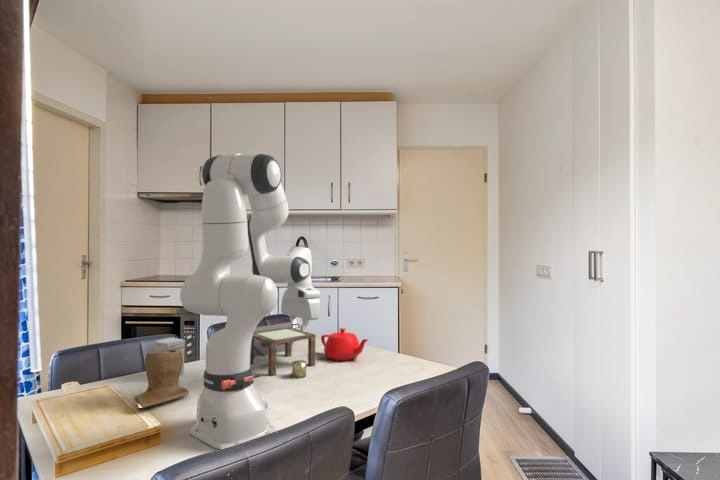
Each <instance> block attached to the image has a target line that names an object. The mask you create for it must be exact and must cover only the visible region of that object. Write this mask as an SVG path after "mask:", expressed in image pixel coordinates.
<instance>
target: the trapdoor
mask: <svg viewBox="0 0 720 480" xmlns="http://www.w3.org/2000/svg"><path fill="white" fill-rule="evenodd" d="M257 335H260V336H262V337H265V338H268V339H271V340H280V339H285V338H291V337H297V336H303V335H306V334H303V333H299V332H296V331H293V330H289V329H283V330H277V331H270V332H264V333H257Z"/></svg>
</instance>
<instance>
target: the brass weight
mask: <svg viewBox="0 0 720 480" xmlns="http://www.w3.org/2000/svg"><path fill="white" fill-rule="evenodd" d="M291 365H292V366H291V367H292V369H291V370H292V374H291V377H292V378H293V379H304V378H306V377H307V361H306V360H302V359H301V360H300V359H299V360H297V359H296V360H294V361H292V364H291Z"/></svg>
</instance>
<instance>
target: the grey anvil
mask: <svg viewBox="0 0 720 480" xmlns="http://www.w3.org/2000/svg"><path fill="white" fill-rule="evenodd" d="M297 324H298V327H297V328H296V329H301V328H300V326H301V325H300V324H299V323H297ZM287 327H291V321H289V322H282V323H275V324H269V325H262V326H257V327H256V329H255V331H254V332H260V331H267V330H273V329H280V328H287ZM261 343H263V342H262V341H259V340H257V339H254V353H257V354H259V355H262V356H269V344H267V343H263V344H261ZM294 343H295V341H292V345H293V344H294ZM282 352H283V353H285V343H281V344H276V354H279V353H282Z"/></svg>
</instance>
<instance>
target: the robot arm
mask: <svg viewBox="0 0 720 480" xmlns="http://www.w3.org/2000/svg"><path fill="white" fill-rule="evenodd" d="M201 176H202V181H203V185H204V187H203V193H202V199H201V226H202V253H201V258H200V261H199V263H198V266H197V268H196V270H195V271H194V272H193V273H192V274H191V275H190V276H189V277H188V278H187V279H185V280H184V282H183V283H182V286H181V288H180V294H179V298H180V302H181V305H182V307H183V309H185V310H186V311H188V313H189V312H190V313H192V314H193V313H194V314H197V315H203V316H218V317H219V316H221V317H222V316H224V317H226V323H225V326H224V328H221V329H219V330H217V331H215V332H214V333H212V335H210V337H209V338H208V339H207V342H206V345H205V369H204V372H203V377H202V379H203V386H204V388H203V389H202V391H201V393H200V394H199V396H198V398H197V403H196V416H195V418H196V419H195V425H193V426H192V427H191V428H189V429H190V430H189V434H190V435H191V436H192V437H195V438H196V439H197V440H199V441H201V442H203V443H205V444H208V445H209V446H210V447H212V448H215V449H216V448H217V449H216V450H218V449H222V448H226V447H230V446H233V445H236V444H239V443H242V442H246V441H249V440H251V439H254V438H257V437H260V436H263V435H266V434H268V433H272V432H274V431H276V432H277V428H276V427H275V426H274V424H272V422H271V421H270V419H269V418H268V417H267V409H268V406H269V405H268V401H267V399H262V397H261V395H260V391H258V390H257V389H256V386H255V384H254V378H255V377H254V376H253V374H254V372H253V369H252V366H251V365H250V353H251V342H252V336H253V333H254V331H255V329H256V327H258V325H259V323H260V322H261V321H262V320H263V319H264V318H265V317H266V316H268V315H269V314H270V313H271V312H272V311H273V310H274V308H275V307H276V305H277V302H278V297H279V293H278V288H277V285H276V284H280V285H281V284H282V285H283V284H284V285H285V284H286V285H287V287H286V288H287V289H286V290H285V291H284V292H283V295H282V297H281V298H282V299H281V305H280V311H281V314H282V315H285V316H289V322H291V328H293V329H298V328H297V327H298V324H299V323H297V318H298V319H301V322H302V324H301V325H300V328H299V330H301V331H305V332H307V331H308V330H307V329H308V328H307V327H308V325H309V322H310V321H316V320H318V319H319V318H320V314H321V313H320V311H321V310H320V309H321V303H320V299H319V298H320V297H321V292H320V290H318V289H317V288H315V287H314V286H313V282H312V281H313V280H312V273H313V258H312V251H311V249H310V248H309V247H306V246H300V245H298V246H297V245H295V246H291V247H290V248H289V251H288V252H289V253H287V254H286V255H272V254H270V253H268V251H267V243H266V237H265V234H267V233H269V232H272V231H275V230H276V229H278V228H280V227H281V226H282V225H283V224H285V222H286V220H287V218H288V217H289V213H290V212H289V211H290V210H289V209H290V208H289V204H288V200H287V196H286V192H285V189H284V188H283V184H282V170H281V166H280V164H279V162H278V161H277V160H276V159H275V158H274V156H271V155H269V154H264V153H263V154H262V153H257V154H250V153H248V154H247V153H233V154H232V153H231V154H230V153H229V154H225V155H222V154H220V155H214V156H212V157H210V158H208V159H206V161H205V162H204V164H203V167H202V169H201ZM245 196H247V199H248V202H249V206H250V209H251V216H250V217H249V219H248V214H247V206H246V201H245ZM248 249H250V255H251V256H250V257H251V263H252V265H251V270H252V271H251V272H252V274H250V273H249V274H248V273H247V274H246V273H244V274H241V273H238V274H237V273H236V274H235V273H234V274H232V273H231V266H232V263H234V262H236V261H238V260H239V259H241V258H242V257H244V256H245V254H247V251H248Z"/></svg>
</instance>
